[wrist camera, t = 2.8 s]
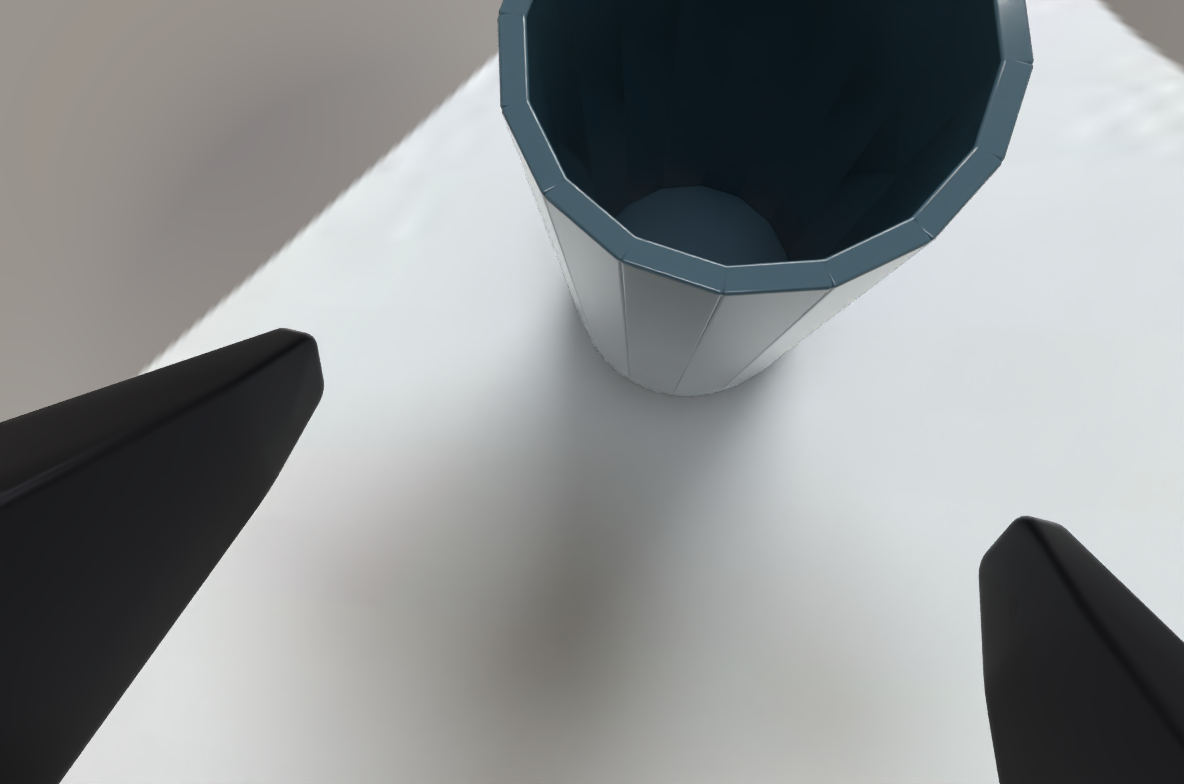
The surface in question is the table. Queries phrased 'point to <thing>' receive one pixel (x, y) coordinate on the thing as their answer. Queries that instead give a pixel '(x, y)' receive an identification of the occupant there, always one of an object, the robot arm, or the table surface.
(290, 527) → the table surface
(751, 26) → the tumbler
